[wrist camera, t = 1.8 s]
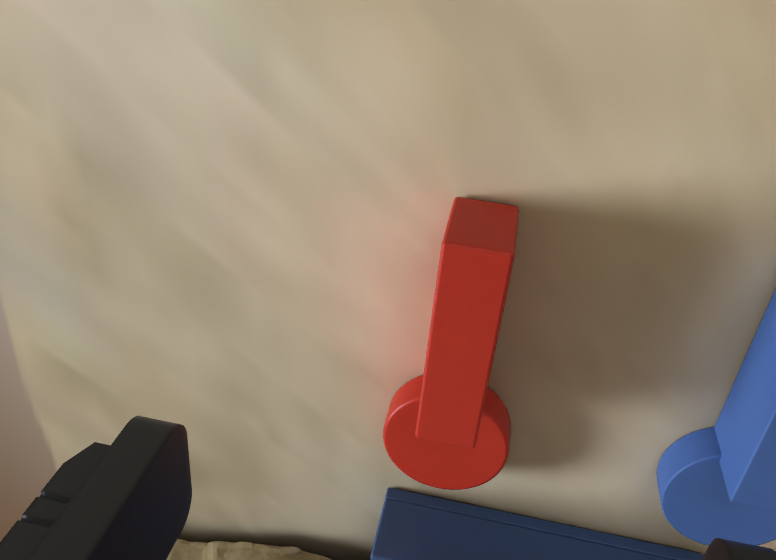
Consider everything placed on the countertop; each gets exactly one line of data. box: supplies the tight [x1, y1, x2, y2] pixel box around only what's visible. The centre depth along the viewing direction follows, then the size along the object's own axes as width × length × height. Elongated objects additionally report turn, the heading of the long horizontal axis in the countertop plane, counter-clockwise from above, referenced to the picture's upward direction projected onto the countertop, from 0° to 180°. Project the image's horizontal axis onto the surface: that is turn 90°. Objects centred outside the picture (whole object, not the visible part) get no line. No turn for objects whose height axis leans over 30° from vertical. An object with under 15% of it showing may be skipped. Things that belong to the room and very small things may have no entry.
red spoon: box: [383, 197, 519, 490], centre depth 17 cm, size 8×3×2 cm, turn 175°
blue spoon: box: [657, 289, 776, 546], centre depth 16 cm, size 8×3×2 cm, turn 175°
